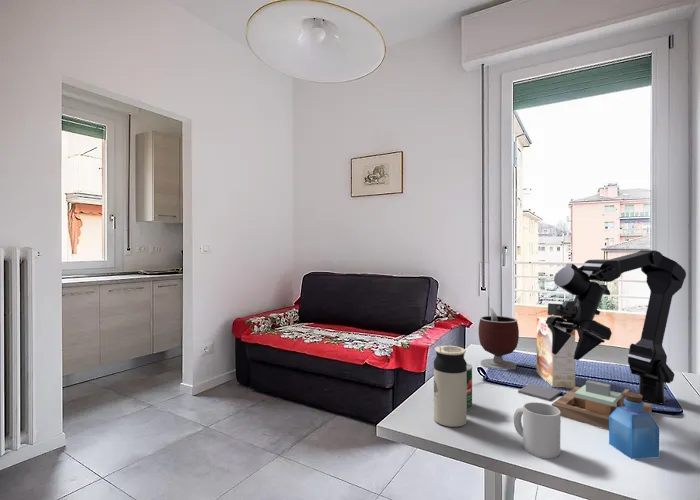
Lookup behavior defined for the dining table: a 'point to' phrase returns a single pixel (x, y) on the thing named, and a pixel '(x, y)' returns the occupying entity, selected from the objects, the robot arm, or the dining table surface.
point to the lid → (598, 393)
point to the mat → (539, 392)
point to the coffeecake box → (555, 358)
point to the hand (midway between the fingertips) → (564, 356)
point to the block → (598, 407)
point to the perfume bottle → (634, 429)
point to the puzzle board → (586, 416)
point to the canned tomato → (469, 386)
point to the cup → (539, 429)
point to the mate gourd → (498, 339)
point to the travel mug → (450, 386)
